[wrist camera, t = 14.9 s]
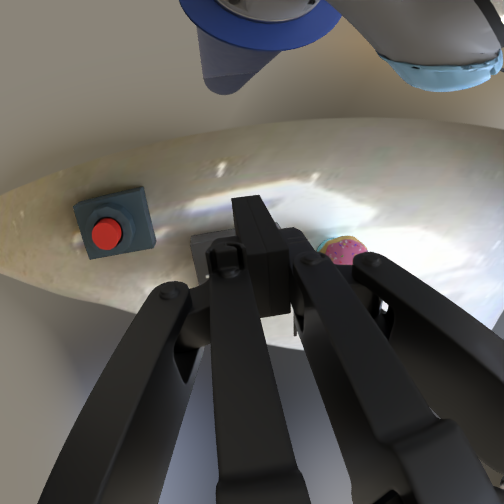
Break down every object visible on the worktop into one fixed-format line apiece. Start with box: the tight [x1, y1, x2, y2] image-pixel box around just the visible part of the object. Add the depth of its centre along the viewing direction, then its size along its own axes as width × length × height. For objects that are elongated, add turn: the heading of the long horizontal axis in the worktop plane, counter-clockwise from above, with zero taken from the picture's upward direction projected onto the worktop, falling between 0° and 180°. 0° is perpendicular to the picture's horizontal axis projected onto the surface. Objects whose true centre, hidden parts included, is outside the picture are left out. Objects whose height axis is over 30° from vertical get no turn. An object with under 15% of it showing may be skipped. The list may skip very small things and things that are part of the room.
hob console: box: [190, 222, 281, 286], centre depth 41 cm, size 12×10×3 cm
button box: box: [73, 187, 156, 260], centre depth 35 cm, size 10×8×4 cm
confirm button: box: [92, 218, 122, 250], centre depth 33 cm, size 4×4×2 cm
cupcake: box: [317, 236, 368, 265], centre depth 39 cm, size 9×8×12 cm
